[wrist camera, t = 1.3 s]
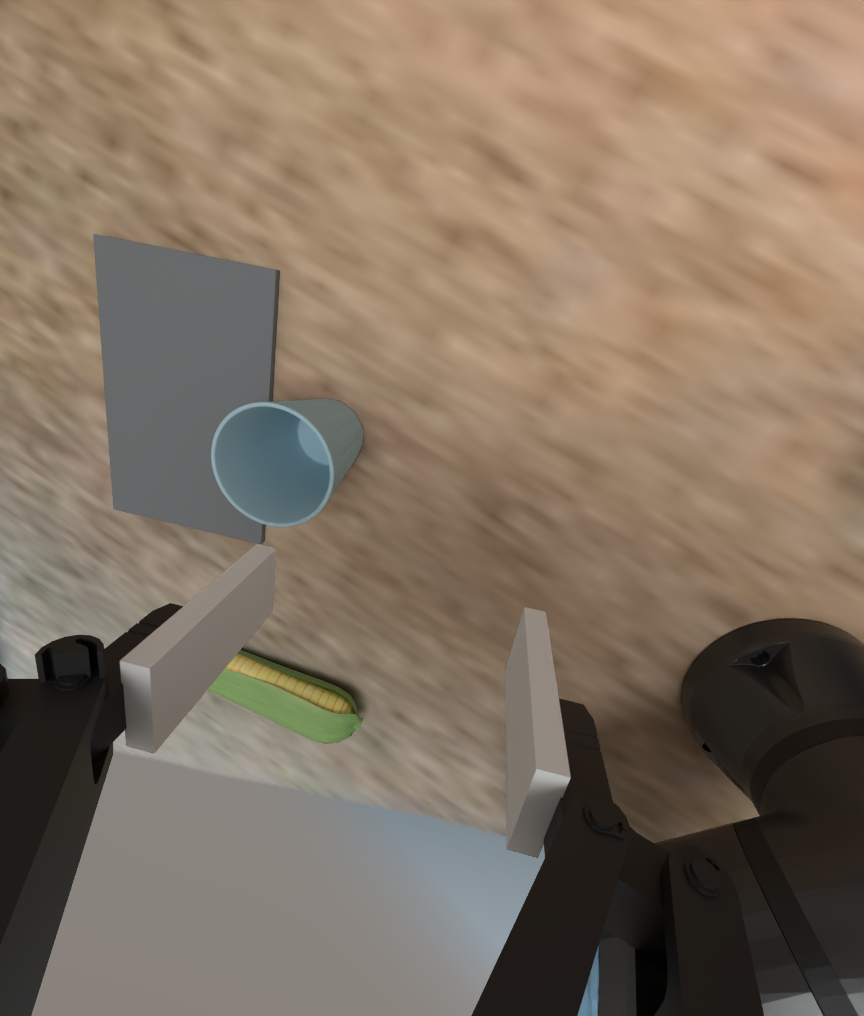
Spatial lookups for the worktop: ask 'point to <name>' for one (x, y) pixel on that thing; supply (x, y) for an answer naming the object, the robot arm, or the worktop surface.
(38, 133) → the worktop surface
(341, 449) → the cup
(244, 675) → the edible corn
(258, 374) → the mat
